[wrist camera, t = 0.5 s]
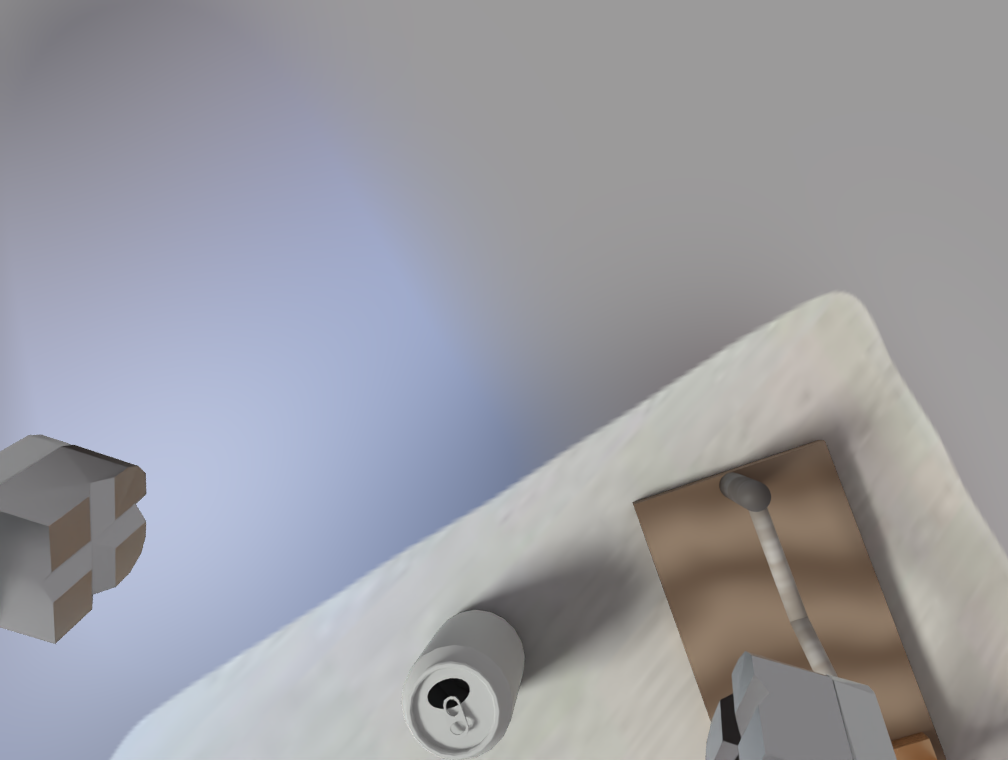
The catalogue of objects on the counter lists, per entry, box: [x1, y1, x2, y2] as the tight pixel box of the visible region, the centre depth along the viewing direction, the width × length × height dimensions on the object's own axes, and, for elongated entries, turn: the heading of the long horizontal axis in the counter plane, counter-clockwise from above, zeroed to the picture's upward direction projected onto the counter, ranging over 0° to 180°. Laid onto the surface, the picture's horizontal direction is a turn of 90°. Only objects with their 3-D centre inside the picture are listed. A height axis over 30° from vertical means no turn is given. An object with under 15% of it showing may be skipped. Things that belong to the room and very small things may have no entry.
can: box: [401, 610, 525, 760], centre depth 55 cm, size 8×8×12 cm
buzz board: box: [633, 440, 946, 760], centre depth 52 cm, size 31×15×13 cm, turn 19°
